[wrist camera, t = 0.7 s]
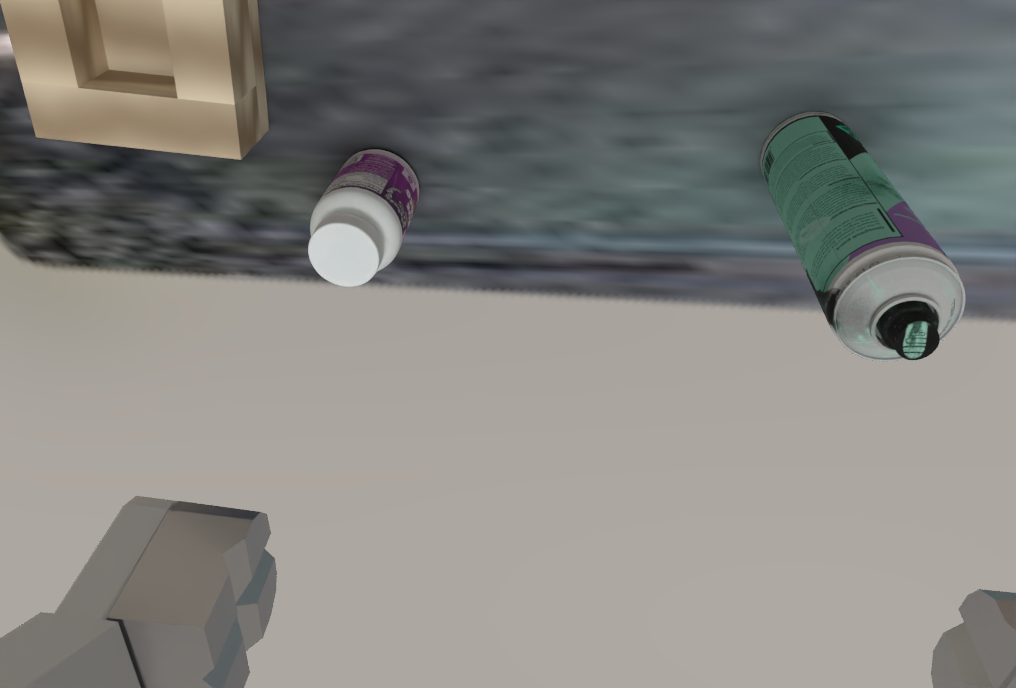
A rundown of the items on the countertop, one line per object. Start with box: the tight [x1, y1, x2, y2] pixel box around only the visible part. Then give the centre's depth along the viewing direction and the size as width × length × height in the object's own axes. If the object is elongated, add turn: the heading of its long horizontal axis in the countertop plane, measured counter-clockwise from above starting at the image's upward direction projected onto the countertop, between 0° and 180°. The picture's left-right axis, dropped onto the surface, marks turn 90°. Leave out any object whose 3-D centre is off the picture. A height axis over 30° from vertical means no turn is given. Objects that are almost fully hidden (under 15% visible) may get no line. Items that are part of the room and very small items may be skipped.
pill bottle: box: [308, 149, 419, 287], centre depth 48 cm, size 5×5×10 cm
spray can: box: [760, 111, 965, 362], centre depth 40 cm, size 6×6×20 cm
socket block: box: [0, 0, 269, 160], centre depth 45 cm, size 12×12×5 cm
